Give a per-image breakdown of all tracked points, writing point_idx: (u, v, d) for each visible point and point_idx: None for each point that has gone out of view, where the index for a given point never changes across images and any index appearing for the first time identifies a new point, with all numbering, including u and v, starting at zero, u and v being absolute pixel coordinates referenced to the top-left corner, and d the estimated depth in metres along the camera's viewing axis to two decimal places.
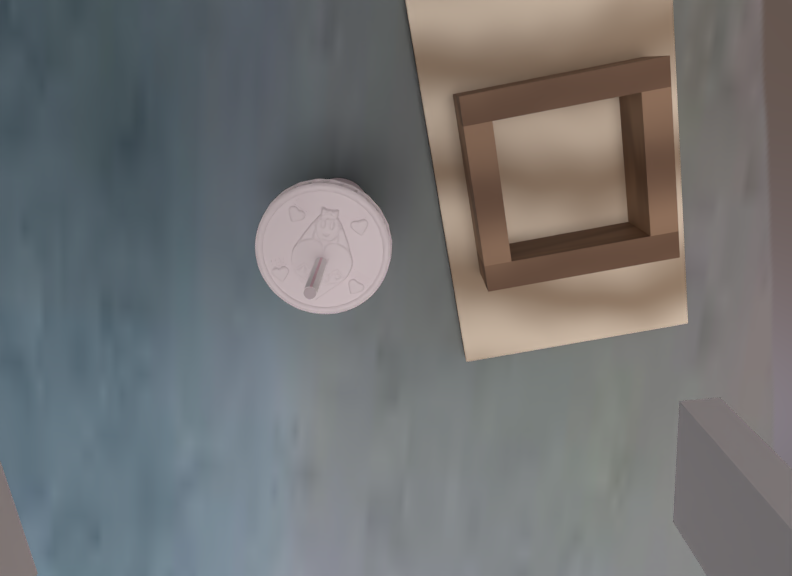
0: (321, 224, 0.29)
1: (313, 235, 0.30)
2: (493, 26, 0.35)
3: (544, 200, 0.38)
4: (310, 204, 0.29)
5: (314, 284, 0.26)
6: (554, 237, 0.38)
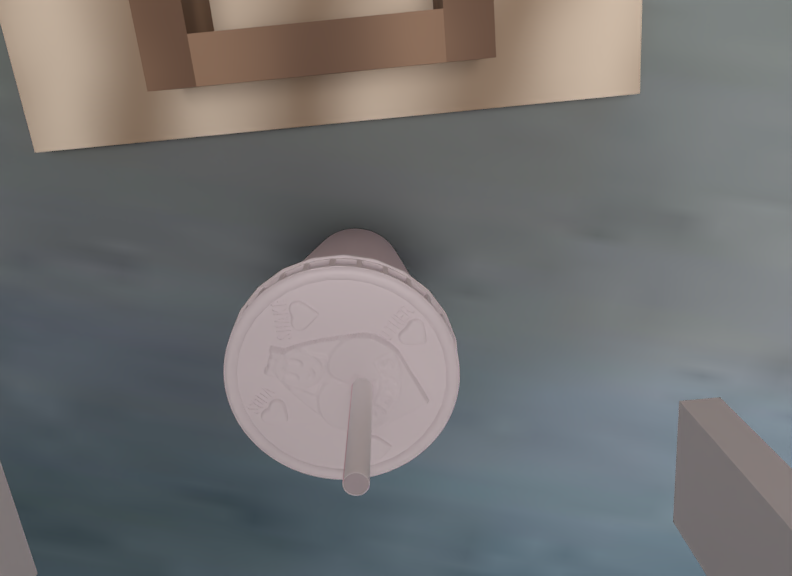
0: (292, 379, 0.17)
1: (311, 393, 0.17)
2: (76, 14, 0.22)
3: None
4: (260, 389, 0.17)
5: (346, 465, 0.13)
6: None
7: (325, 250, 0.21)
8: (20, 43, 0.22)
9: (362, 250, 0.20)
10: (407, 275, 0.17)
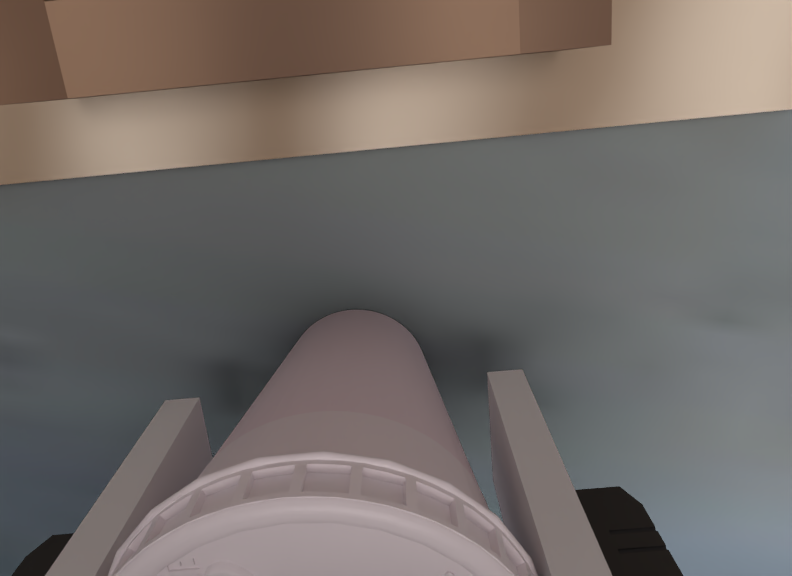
0: None
1: None
2: None
3: None
4: None
5: None
6: None
7: (301, 383, 0.12)
8: None
9: (365, 389, 0.11)
10: (455, 491, 0.08)
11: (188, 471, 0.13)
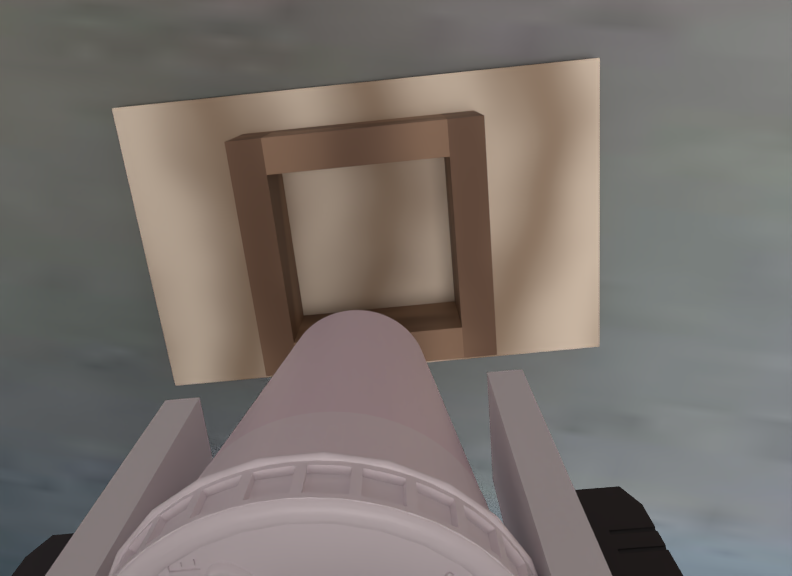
0: None
1: None
2: (209, 301, 0.32)
3: (405, 250, 0.32)
4: None
5: None
6: (450, 242, 0.31)
7: (301, 384, 0.12)
8: (170, 319, 0.33)
9: (365, 390, 0.11)
10: (455, 492, 0.08)
11: (188, 471, 0.13)
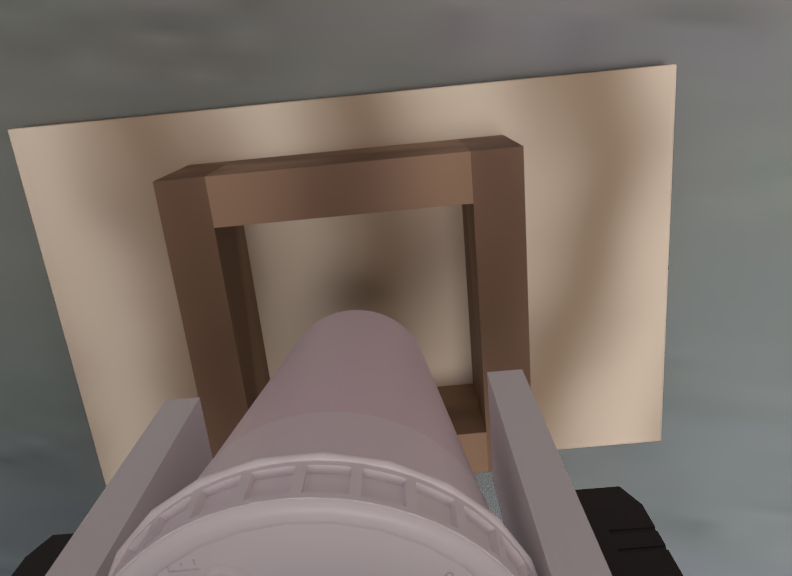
0: None
1: None
2: (148, 383, 0.24)
3: (408, 318, 0.24)
4: None
5: None
6: (469, 309, 0.23)
7: (301, 384, 0.12)
8: (96, 405, 0.25)
9: (365, 390, 0.11)
10: (455, 492, 0.08)
11: (188, 471, 0.13)
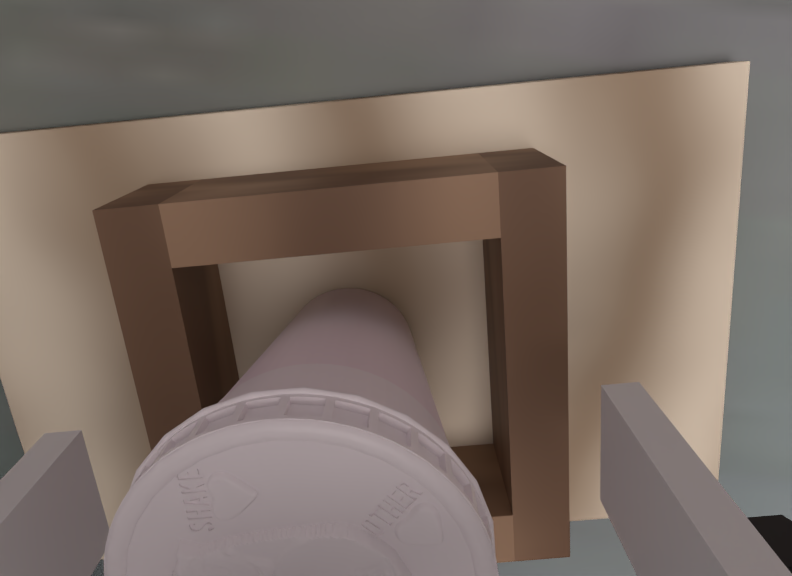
0: None
1: None
2: (105, 442, 0.20)
3: None
4: None
5: None
6: (490, 358, 0.19)
7: (293, 344, 0.14)
8: None
9: (348, 349, 0.13)
10: (412, 422, 0.10)
11: (59, 512, 0.12)
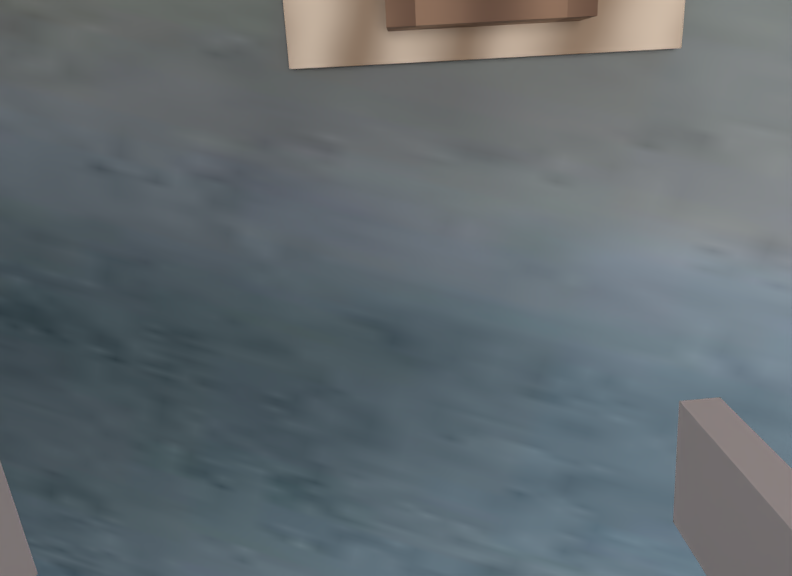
0: None
1: None
2: None
3: None
4: None
5: None
6: None
7: None
8: None
9: None
10: None
11: None
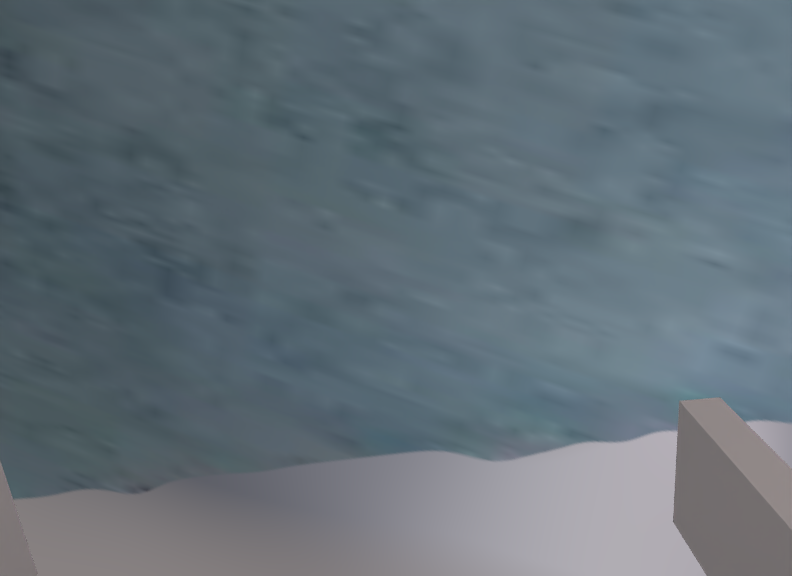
0: None
1: None
2: None
3: None
4: None
5: None
6: None
7: None
8: None
9: None
10: None
11: None
